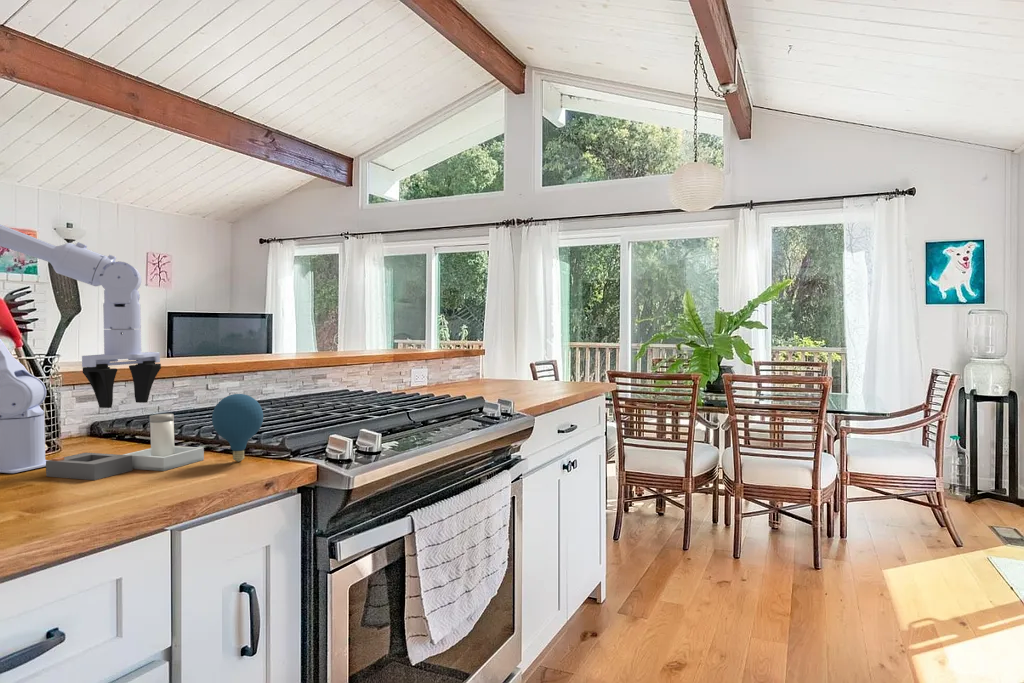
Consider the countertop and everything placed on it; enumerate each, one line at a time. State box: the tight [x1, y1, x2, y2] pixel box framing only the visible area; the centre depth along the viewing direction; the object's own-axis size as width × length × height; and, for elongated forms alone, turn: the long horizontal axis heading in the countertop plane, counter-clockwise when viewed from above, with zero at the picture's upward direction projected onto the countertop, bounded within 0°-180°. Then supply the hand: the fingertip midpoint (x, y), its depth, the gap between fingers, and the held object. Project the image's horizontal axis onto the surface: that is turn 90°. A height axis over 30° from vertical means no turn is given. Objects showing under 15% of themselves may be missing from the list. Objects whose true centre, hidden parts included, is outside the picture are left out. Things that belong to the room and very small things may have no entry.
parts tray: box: [122, 445, 205, 472], centre depth 112 cm, size 9×9×2 cm
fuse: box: [149, 413, 175, 457], centre depth 112 cm, size 4×4×8 cm
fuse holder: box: [45, 452, 133, 481], centre depth 105 cm, size 10×7×3 cm
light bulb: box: [211, 393, 264, 463], centre depth 114 cm, size 8×8×12 cm
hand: (124, 405), depth 116 cm, fingers open, 7 cm apart
